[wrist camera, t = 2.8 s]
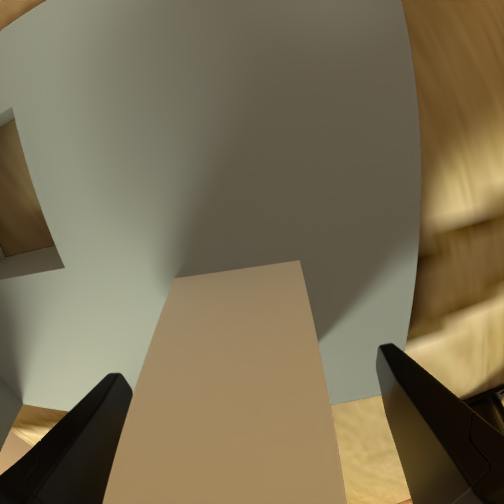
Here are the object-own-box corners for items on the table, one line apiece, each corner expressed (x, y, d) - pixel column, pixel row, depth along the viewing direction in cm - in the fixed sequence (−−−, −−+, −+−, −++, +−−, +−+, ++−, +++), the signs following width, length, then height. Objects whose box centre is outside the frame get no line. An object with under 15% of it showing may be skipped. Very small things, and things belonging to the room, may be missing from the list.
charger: (299, 260, 10) (354, 563, 3) (309, 351, 12) (338, 572, 4) (174, 278, 10) (92, 548, 3) (205, 363, 12) (178, 574, 5)
